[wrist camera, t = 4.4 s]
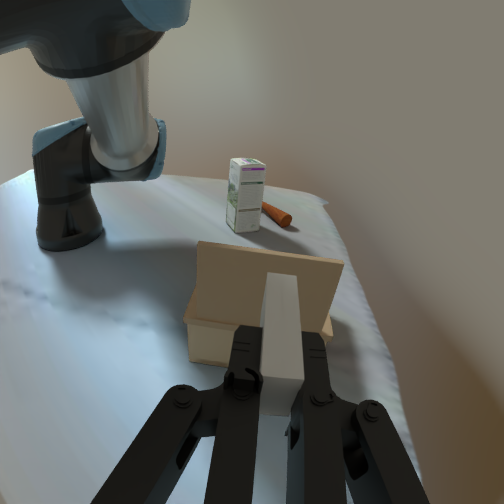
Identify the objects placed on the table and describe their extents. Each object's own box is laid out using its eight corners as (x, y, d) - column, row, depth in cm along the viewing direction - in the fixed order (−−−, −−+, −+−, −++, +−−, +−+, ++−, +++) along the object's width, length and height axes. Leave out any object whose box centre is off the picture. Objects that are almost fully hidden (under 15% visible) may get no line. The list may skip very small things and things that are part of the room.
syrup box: (259, 231, 62) (268, 164, 55) (233, 233, 60) (240, 164, 52) (248, 220, 66) (256, 157, 59) (224, 222, 64) (229, 157, 57)
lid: (183, 323, 27) (181, 243, 23) (211, 250, 40) (215, 189, 36) (331, 341, 27) (359, 267, 23) (316, 264, 40) (331, 205, 36)
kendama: (276, 213, 62) (227, 180, 74) (275, 236, 65) (228, 200, 78) (297, 205, 64) (247, 174, 77) (295, 227, 68) (247, 194, 81)
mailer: (189, 361, 31) (187, 323, 28) (211, 288, 43) (213, 253, 40) (312, 376, 31) (327, 341, 28) (305, 301, 43) (314, 267, 40)
